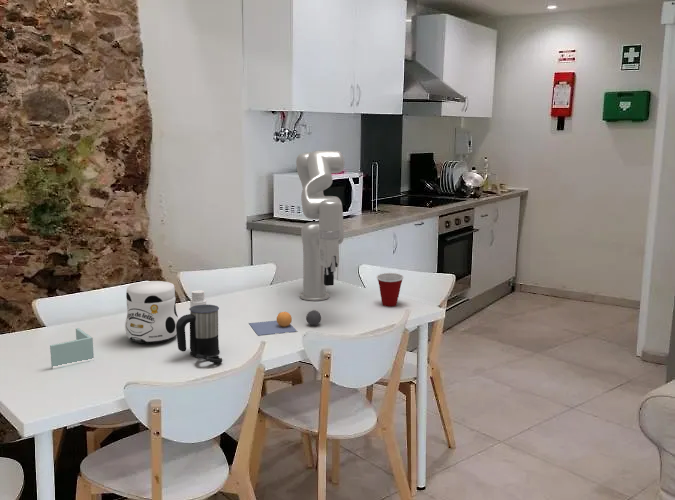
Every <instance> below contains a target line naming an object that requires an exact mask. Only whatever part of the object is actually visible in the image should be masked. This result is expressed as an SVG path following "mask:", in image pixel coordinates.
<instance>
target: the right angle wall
mask: <svg viewBox="0 0 675 500" xmlns="http://www.w3.org/2000/svg"><path fill="white" fill-rule="evenodd" d="M75 338H76V339H75V340H69V341H65V342H60V343H59V342H58V343H55V344H54V343H53V344H50V345H49V349H50V364H51V368H52V367H53V366H58V365H62V364H67V363H72V362H77V361H82V360H88V359H92V358H94V359H95V357H94V355H95V354H94V339H93V338H94V337H92V336H90V335H89V334H88V333H87V332H85V331H83V330H82V329H81V328H79V327H77V328H75Z"/></svg>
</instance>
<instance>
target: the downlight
mask: <svg viewBox="0 0 675 500" xmlns="http://www.w3.org/2000/svg"><path fill="white" fill-rule="evenodd" d="M205 294H206V293H205V290H201V289H200V290H198V289H197V290H192V291H191V299H190V300H189V305H190V307H189V308H191V307H193V306H196V305H207V300H206V299H205ZM189 311H190V310H189ZM189 313H190V314H191V311H190V312H189Z"/></svg>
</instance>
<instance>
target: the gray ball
mask: <svg viewBox="0 0 675 500" xmlns="http://www.w3.org/2000/svg"><path fill="white" fill-rule="evenodd" d="M305 318H306V322H307V324H308V325H311V326H317V325H319V324H320V323H321V321H322V315H321V313H320V312H319V311H318V310H314V309H313V310H310V311H309V312H308V313H307V314H306V316H305Z"/></svg>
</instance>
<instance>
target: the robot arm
mask: <svg viewBox="0 0 675 500" xmlns="http://www.w3.org/2000/svg"><path fill="white" fill-rule="evenodd" d="M295 163H296V172H297V175H298V177H299V180H300V183H301V186H302V190H301V196H300V197H301V198H300V200H301V201H300V202H301V209H302V212H303V215H304V216H305V218H306V219H309V220H318V221H311V222H306V223H304V224H303V225H302V227H301V229H300V230H301V231H300V234H301V235H300V237H301V243H302V253H303V257H302V261H303V265H302V266H303V267H302V273H303V274H302V275H303V277H302V291H301V292H300V293H299V298H300V299H302V300H305V301H314V302H315V301H317V302H319V301H325V300H327V299H328V300H329V298H330V293H329V292H328V291H327V286H328V287H329V286H333V285H334V284H335V282H334V281H335V272H336V271H337V270H336V268H338V267H339V265H340V264H339V263H340V249H339V248H340V247H339V245H341V244H342V243H343V242H344V240H345V239H344V238H345V229H344V213H343V212H344V211H343V203H342V200H341V199H340V198H339V197H338V196H333V195H325V194H324V191H326V190H328V188H330V187H331V186H332V184H333V175H332V174H339V173H341V172H342V171H343V170H344V168H345V158H344V155H343V153H342V152H341V151H339V150H313V151H312V152H310V151H309V152H302V153H300V154H298V155H297V157H296V161H295Z"/></svg>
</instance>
